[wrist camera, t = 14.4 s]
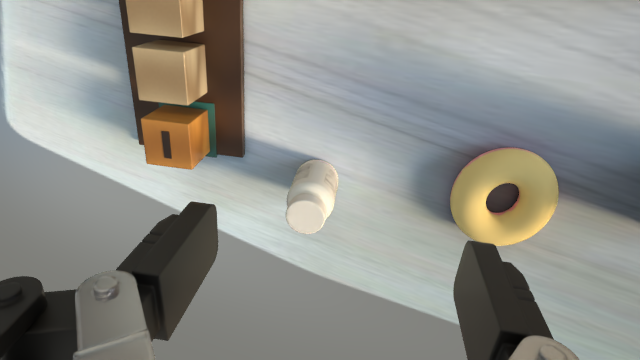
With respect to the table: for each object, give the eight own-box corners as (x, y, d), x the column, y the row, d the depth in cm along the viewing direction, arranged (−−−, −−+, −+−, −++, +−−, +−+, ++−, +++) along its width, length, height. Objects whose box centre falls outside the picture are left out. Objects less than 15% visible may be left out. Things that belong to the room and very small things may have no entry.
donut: (552, 147, 39) (459, 135, 38) (583, 160, 35) (479, 147, 34) (521, 239, 42) (434, 229, 41) (546, 262, 38) (450, 252, 37)
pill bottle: (292, 190, 42) (276, 231, 36) (301, 153, 40) (285, 189, 34) (333, 201, 42) (323, 244, 36) (343, 164, 40) (335, 203, 34)
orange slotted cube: (164, 104, 39) (139, 118, 35) (207, 109, 39) (188, 124, 35) (168, 146, 41) (146, 164, 37) (210, 151, 41) (191, 170, 37)
